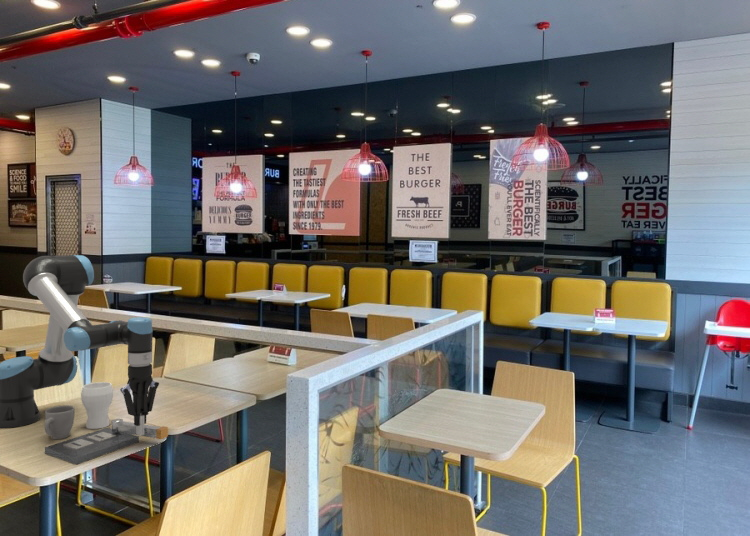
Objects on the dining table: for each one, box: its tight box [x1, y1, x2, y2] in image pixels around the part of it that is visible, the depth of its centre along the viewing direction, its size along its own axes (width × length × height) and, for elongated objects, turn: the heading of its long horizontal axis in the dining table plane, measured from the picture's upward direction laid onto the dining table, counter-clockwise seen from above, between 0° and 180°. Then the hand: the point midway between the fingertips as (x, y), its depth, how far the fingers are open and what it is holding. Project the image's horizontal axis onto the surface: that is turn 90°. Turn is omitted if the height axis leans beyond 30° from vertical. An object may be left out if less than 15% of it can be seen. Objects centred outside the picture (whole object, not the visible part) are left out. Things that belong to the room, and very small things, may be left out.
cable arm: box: [111, 418, 169, 440], centre depth 192 cm, size 22×4×4 cm, turn 70°
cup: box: [80, 381, 114, 430], centre depth 207 cm, size 11×11×15 cm
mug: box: [43, 405, 75, 440], centre depth 194 cm, size 12×9×10 cm
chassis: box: [44, 427, 140, 465], centre depth 186 cm, size 17×22×2 cm
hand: (140, 434), depth 189 cm, fingers closed
